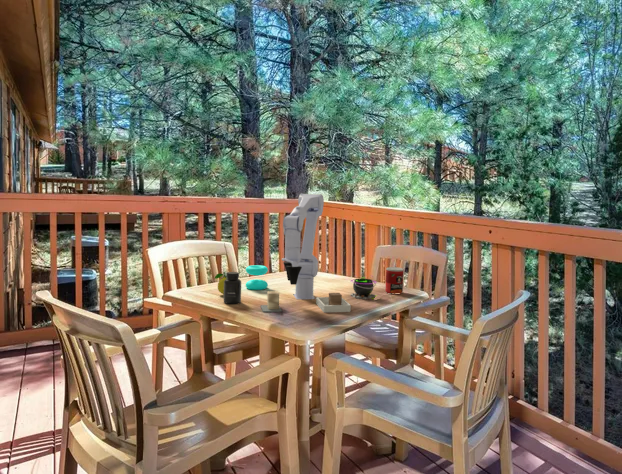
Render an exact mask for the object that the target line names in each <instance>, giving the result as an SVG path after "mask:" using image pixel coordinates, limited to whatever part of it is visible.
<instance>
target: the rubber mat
mask: <svg viewBox="0 0 622 474" xmlns="http://www.w3.org/2000/svg"><path fill="white" fill-rule="evenodd" d="M260 308H261V311H262V313H283V310H282V308H281V307H280V305H279V309H268V307H267V304H264V305H260Z"/></svg>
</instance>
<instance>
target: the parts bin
mask: <svg viewBox="0 0 622 474" xmlns="http://www.w3.org/2000/svg"><path fill="white" fill-rule="evenodd" d="M315 298H316V299H315V304H316V305H317V306H318V308H319V309H320V310H321V312H323V313H350V312H351V308H352V306H351V304H350V303H349V302H348V301H347V300H345V298H343V297H342V303H341V305H329V296H320V297H318V296H317V297H315Z"/></svg>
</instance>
